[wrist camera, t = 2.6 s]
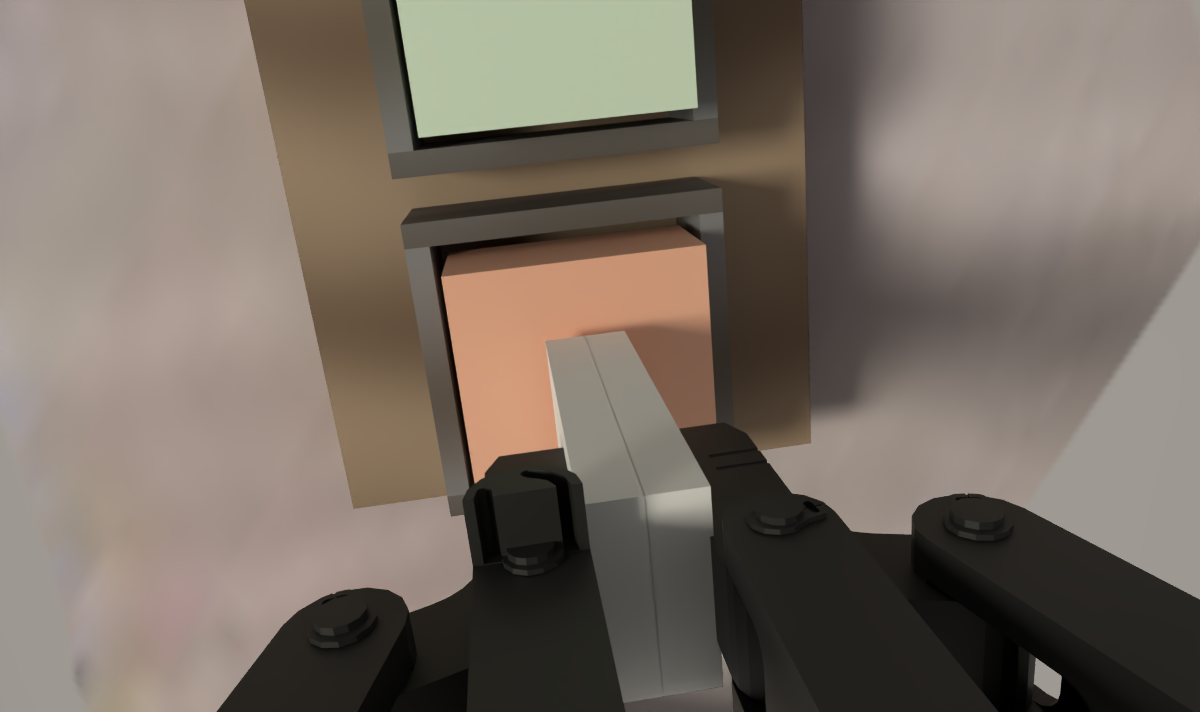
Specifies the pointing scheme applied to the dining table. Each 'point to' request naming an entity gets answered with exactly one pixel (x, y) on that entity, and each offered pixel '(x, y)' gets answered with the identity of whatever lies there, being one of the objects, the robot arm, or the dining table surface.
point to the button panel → (528, 220)
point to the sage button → (545, 61)
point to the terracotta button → (574, 327)
